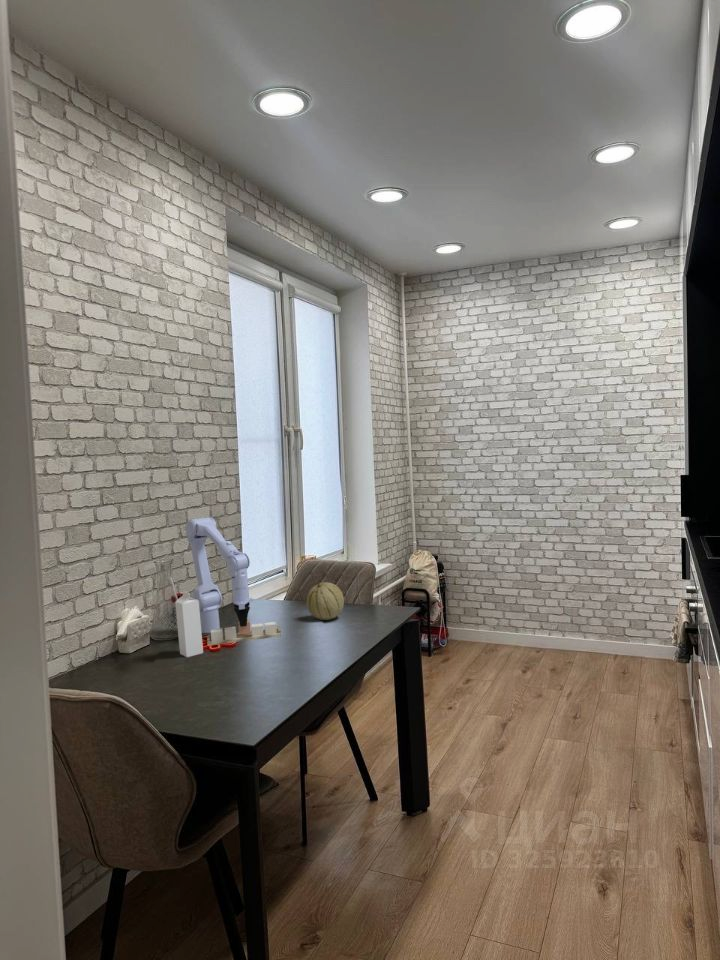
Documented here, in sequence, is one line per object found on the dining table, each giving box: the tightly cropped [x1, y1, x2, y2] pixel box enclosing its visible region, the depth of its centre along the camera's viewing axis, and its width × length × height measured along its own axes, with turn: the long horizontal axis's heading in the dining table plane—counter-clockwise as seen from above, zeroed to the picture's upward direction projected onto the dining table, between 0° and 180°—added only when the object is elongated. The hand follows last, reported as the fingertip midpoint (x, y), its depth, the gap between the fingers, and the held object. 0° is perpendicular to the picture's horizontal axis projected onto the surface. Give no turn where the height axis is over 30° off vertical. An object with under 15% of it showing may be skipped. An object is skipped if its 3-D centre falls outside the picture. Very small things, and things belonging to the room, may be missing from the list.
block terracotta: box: [237, 619, 251, 635], centre depth 244 cm, size 4×4×4 cm
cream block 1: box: [210, 627, 224, 641], centre depth 242 cm, size 4×4×4 cm
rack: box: [206, 625, 282, 646], centre depth 244 cm, size 26×8×3 cm, turn 101°
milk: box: [174, 590, 204, 658], centre depth 229 cm, size 6×6×22 cm
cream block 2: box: [224, 626, 237, 640], centre depth 243 cm, size 4×4×4 cm
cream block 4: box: [264, 621, 277, 635], centre depth 246 cm, size 4×4×4 cm
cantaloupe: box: [306, 581, 345, 621], centre depth 264 cm, size 15×15×15 cm
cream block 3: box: [250, 622, 264, 636], centre depth 245 cm, size 4×4×4 cm
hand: (243, 624), depth 244 cm, fingers closed on block terracotta, 4 cm apart
